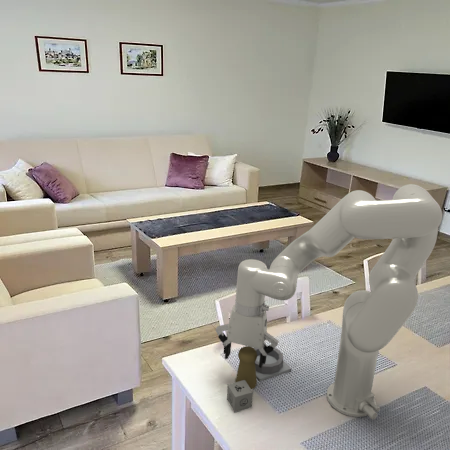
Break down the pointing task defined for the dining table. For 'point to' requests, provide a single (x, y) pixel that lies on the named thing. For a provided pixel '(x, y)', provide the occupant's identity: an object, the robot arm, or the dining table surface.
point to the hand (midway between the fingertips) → (244, 360)
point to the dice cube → (239, 396)
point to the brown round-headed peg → (247, 366)
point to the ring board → (268, 376)
